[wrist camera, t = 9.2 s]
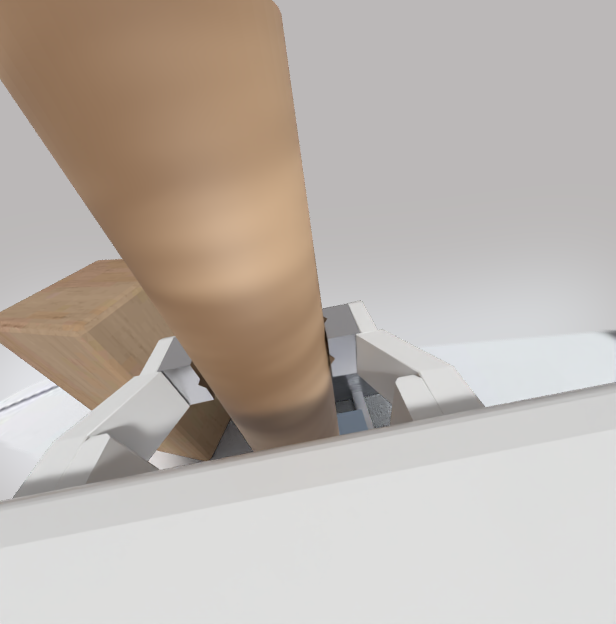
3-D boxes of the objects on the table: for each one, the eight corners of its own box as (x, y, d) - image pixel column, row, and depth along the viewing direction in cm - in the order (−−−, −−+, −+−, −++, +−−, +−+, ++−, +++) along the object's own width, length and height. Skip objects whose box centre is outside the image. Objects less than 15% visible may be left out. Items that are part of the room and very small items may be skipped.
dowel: (334, 418, 15) (279, 54, 5) (351, 495, 12) (289, -67, 2) (272, 430, 15) (100, 87, 5) (272, 510, 12) (-166, 17, 2)
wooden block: (189, 378, 36) (98, 258, 24) (247, 385, 33) (180, 254, 21) (139, 447, 29) (-29, 324, 16) (210, 463, 26) (73, 331, 14)
